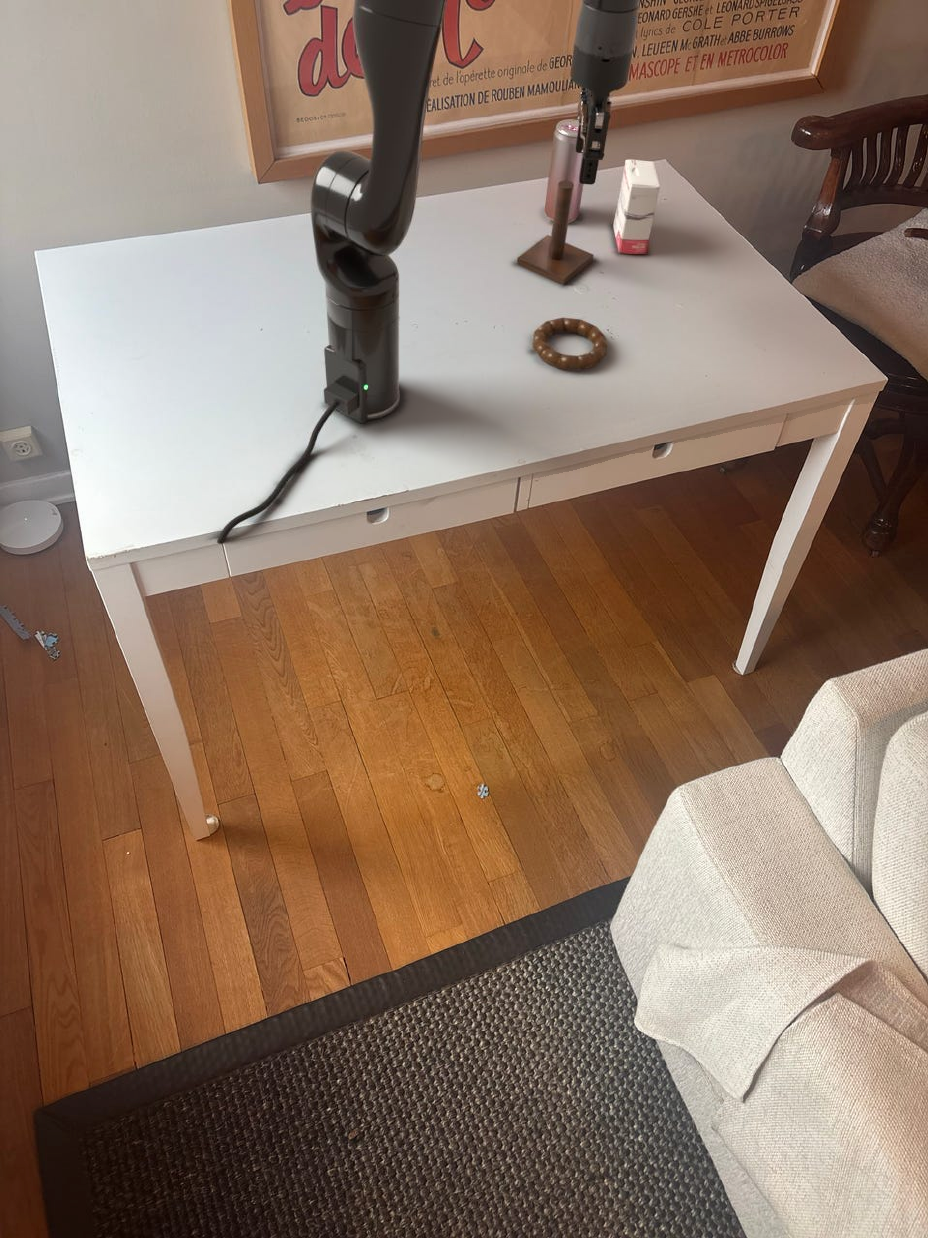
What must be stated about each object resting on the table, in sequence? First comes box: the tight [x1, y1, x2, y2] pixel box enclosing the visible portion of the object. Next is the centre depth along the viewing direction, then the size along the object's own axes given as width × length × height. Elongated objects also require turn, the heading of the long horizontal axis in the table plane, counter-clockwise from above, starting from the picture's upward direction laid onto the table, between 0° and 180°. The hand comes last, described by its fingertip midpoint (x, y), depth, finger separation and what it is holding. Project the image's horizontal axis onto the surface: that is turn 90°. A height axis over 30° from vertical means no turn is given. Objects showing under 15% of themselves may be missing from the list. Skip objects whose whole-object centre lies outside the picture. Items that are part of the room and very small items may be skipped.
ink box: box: [612, 159, 661, 255], centre depth 158 cm, size 9×5×12 cm, turn 0°
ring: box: [532, 317, 608, 371], centre depth 143 cm, size 11×11×2 cm
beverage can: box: [544, 118, 585, 224], centre depth 160 cm, size 6×6×15 cm
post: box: [516, 181, 594, 285], centre depth 152 cm, size 9×9×13 cm
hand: (584, 167), depth 134 cm, fingers open, 8 cm apart
